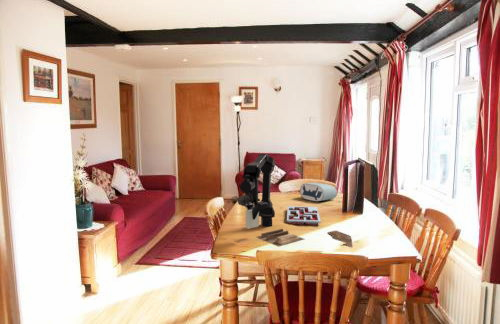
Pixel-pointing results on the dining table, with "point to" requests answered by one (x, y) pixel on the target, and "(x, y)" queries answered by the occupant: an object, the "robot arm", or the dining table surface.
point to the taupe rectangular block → (251, 220)
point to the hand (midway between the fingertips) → (252, 218)
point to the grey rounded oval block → (317, 191)
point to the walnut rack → (275, 237)
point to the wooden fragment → (341, 237)
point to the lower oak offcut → (287, 241)
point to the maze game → (303, 215)
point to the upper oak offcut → (286, 237)
